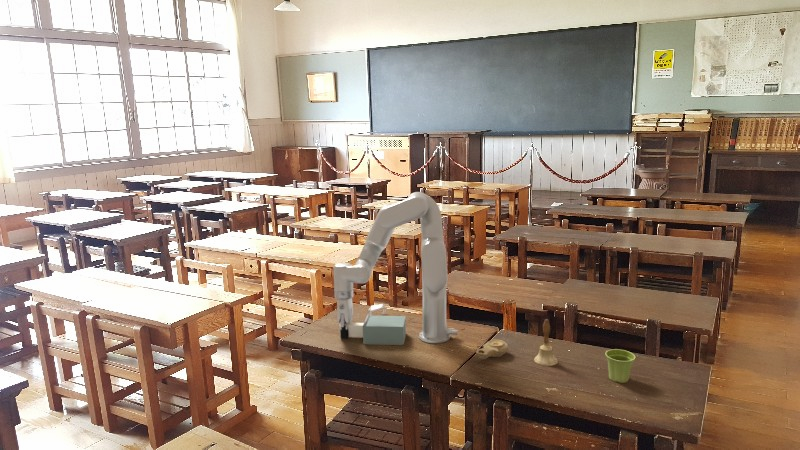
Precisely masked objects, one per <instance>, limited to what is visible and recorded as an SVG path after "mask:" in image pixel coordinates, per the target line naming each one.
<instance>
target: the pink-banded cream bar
mask: <svg viewBox="0 0 800 450" xmlns="http://www.w3.org/2000/svg"><path fill="white" fill-rule="evenodd" d="M363 324H364V322H350V323H348V332H349V338H363ZM344 325H346V324H344ZM339 337H340V338H341V334H340V333H339Z"/></svg>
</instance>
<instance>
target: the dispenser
mask: <svg viewBox="0 0 800 450" xmlns="http://www.w3.org/2000/svg"><path fill="white" fill-rule="evenodd" d="M370 315H371V314H370ZM370 315H369V313H368V314H367V315H366V317H365V319H364V321H363V323H364V324H363V337H362V339H363V340H362V342H363V345H388V346H389V345H390V346H392V345H393V346H394V345H395V346H404V344H405V340H406V334H407V331H406V330H407V329H406V328H407V327H406V325H407V324H406V320H407V319H406V318H407V317H406V315H382V316H381V315H371V316H370Z"/></svg>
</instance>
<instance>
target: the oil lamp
mask: <svg viewBox="0 0 800 450" xmlns="http://www.w3.org/2000/svg"><path fill="white" fill-rule="evenodd" d="M508 350H509V345H508V343H507V342H505V341H504V340H501V339H495V338H494V339H490V340H489V341H487V342H486V343H485V344H482V348H476V351H475V355H476V356H477V357H478V358H480V359H488V358H489V357H492V358H499V357H502V356H503V355H504V354H506V353H507V352H508Z"/></svg>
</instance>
